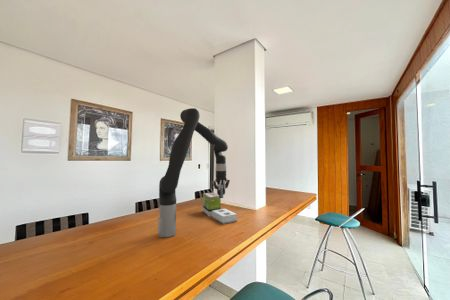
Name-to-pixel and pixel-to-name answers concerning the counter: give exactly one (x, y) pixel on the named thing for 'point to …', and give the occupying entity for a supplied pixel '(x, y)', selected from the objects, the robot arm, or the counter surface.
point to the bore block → (224, 216)
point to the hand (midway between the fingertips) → (221, 194)
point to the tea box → (211, 203)
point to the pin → (221, 192)
